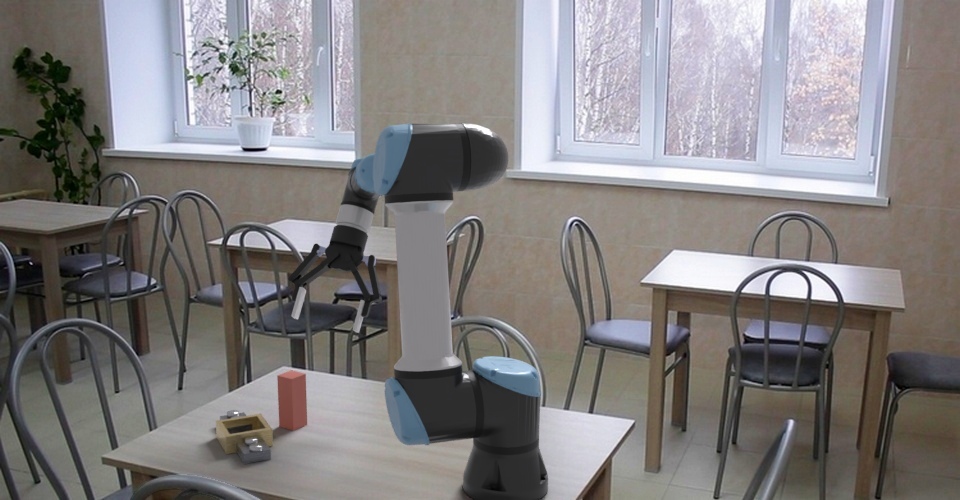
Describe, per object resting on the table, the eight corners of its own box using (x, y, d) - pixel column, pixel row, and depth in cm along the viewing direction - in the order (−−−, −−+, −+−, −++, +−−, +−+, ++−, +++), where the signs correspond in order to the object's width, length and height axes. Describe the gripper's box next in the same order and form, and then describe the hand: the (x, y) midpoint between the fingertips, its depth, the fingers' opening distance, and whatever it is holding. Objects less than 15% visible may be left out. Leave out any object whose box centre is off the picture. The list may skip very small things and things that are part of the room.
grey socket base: (281, 457, 186) (280, 440, 185) (233, 466, 182) (233, 448, 181) (253, 419, 205) (253, 403, 204) (210, 426, 201) (209, 410, 200)
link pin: (307, 424, 202) (305, 373, 200) (293, 430, 199) (291, 379, 197) (293, 420, 204) (291, 370, 202) (279, 426, 201) (277, 375, 199)
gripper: (410, 245, 212) (385, 340, 207) (302, 223, 216) (275, 316, 211) (403, 235, 205) (377, 333, 199) (292, 213, 209) (263, 308, 204)
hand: (325, 324), depth 205 cm, fingers open, 13 cm apart
